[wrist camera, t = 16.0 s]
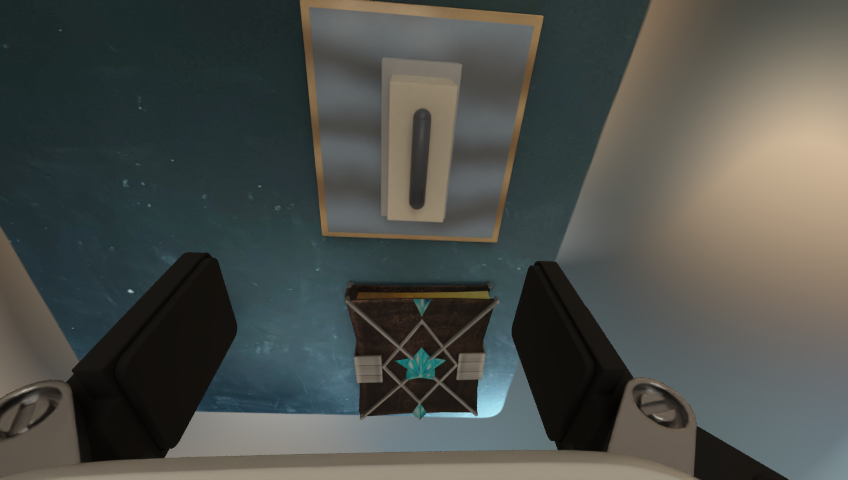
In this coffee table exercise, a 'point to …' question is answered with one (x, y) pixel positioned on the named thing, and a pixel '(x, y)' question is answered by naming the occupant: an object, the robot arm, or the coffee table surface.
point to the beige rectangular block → (417, 137)
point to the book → (419, 346)
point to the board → (361, 109)
